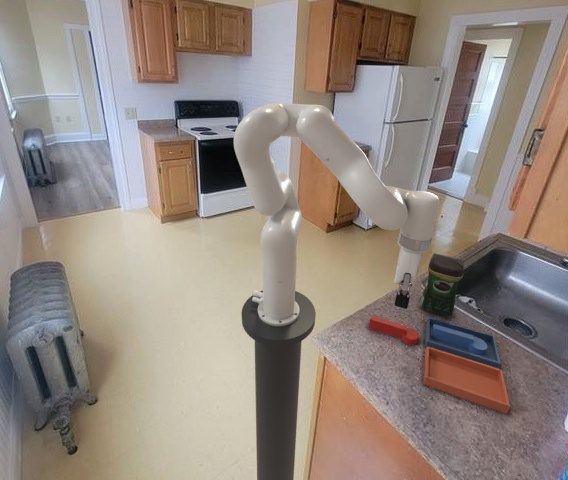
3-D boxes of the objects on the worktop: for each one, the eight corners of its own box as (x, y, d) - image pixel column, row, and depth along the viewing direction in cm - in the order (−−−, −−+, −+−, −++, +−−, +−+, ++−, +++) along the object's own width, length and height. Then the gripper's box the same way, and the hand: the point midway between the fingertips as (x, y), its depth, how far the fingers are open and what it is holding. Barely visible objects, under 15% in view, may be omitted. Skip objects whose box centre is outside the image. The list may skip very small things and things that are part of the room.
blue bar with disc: (431, 340, 89) (433, 331, 88) (431, 329, 93) (433, 320, 91) (486, 357, 84) (489, 348, 83) (484, 345, 88) (487, 336, 86)
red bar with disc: (367, 331, 92) (369, 322, 91) (370, 321, 96) (371, 312, 95) (417, 347, 87) (419, 337, 86) (417, 335, 91) (420, 326, 90)
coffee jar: (452, 305, 103) (466, 256, 96) (452, 321, 97) (467, 269, 89) (420, 296, 107) (432, 248, 100) (418, 310, 101) (429, 260, 93)
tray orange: (423, 384, 77) (425, 377, 76) (424, 352, 86) (426, 345, 85) (506, 414, 71) (510, 406, 70) (499, 376, 79) (502, 369, 78)
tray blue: (425, 347, 87) (426, 341, 86) (426, 323, 96) (427, 316, 95) (498, 371, 81) (501, 363, 80) (492, 342, 90) (494, 335, 89)
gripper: (401, 223, 89) (391, 274, 95) (394, 253, 74) (383, 311, 81) (431, 228, 86) (418, 281, 93) (429, 261, 71) (415, 320, 78)
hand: (402, 295), depth 87 cm, fingers open, 9 cm apart
